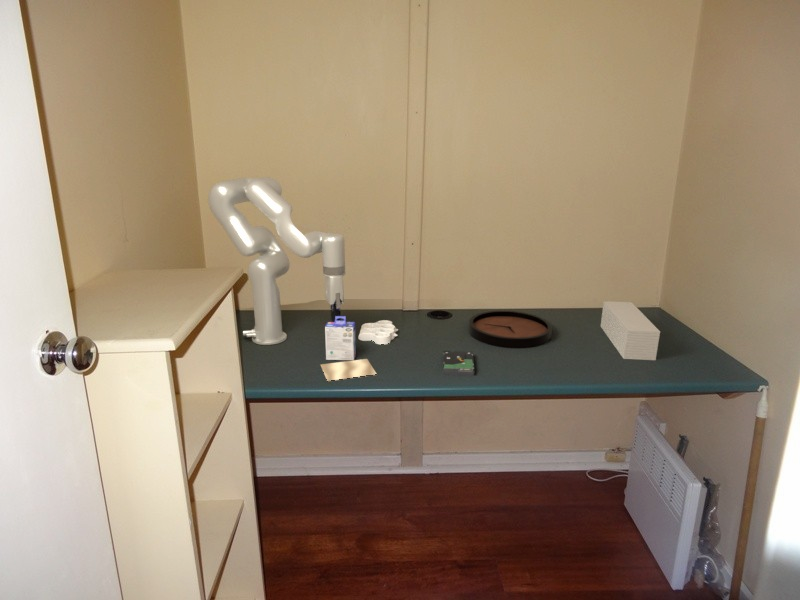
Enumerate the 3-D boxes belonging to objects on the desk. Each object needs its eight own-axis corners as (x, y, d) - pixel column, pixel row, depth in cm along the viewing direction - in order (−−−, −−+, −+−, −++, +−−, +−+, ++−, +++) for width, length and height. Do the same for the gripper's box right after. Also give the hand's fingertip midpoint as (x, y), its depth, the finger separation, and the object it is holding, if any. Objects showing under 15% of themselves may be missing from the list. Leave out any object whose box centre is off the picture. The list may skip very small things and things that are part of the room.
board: (327, 381, 169) (327, 380, 169) (320, 365, 181) (320, 364, 180) (376, 374, 174) (376, 374, 174) (367, 359, 185) (367, 358, 185)
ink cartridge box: (356, 354, 190) (355, 315, 185) (354, 360, 184) (353, 320, 180) (328, 353, 190) (326, 314, 185) (325, 360, 184) (324, 320, 180)
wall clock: (568, 325, 208) (518, 345, 188) (567, 335, 209) (517, 356, 189) (503, 305, 230) (452, 322, 210) (502, 314, 231) (451, 331, 212)
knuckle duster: (362, 327, 216) (399, 328, 215) (357, 345, 199) (397, 345, 198) (362, 319, 215) (399, 320, 214) (357, 336, 197) (397, 337, 197)
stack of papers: (600, 326, 218) (603, 301, 214) (627, 327, 217) (631, 302, 213) (623, 359, 187) (627, 330, 184) (655, 360, 186) (660, 331, 183)
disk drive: (442, 357, 189) (442, 375, 175) (442, 350, 188) (442, 367, 174) (472, 358, 188) (474, 377, 174) (472, 351, 187) (475, 368, 173)
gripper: (319, 265, 191) (321, 315, 196) (327, 276, 177) (329, 329, 183) (340, 264, 193) (341, 313, 199) (349, 274, 179) (351, 326, 185)
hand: (335, 320), depth 191 cm, fingers closed
